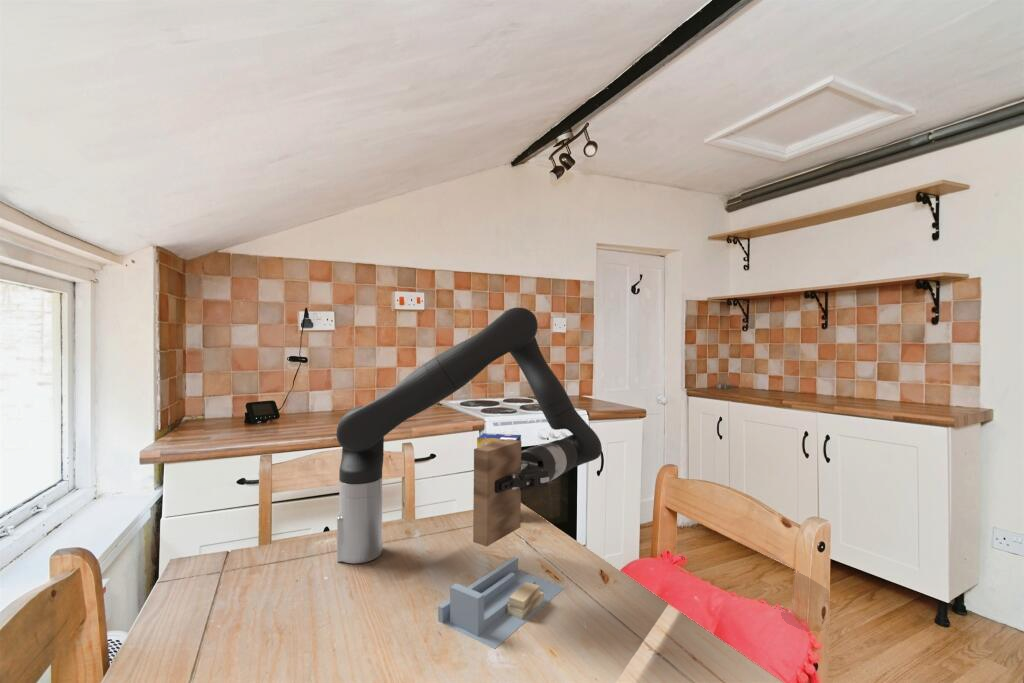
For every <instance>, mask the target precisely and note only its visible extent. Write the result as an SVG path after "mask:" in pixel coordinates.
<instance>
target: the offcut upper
mask: <svg viewBox="0 0 1024 683" xmlns="http://www.w3.org/2000/svg"><path fill="white" fill-rule="evenodd" d="M539 595H540V586H539V585H535V584H532V583H529V582H525V583H524V584H523V585H522V586H521V587H520V588H519V589H518V590H517V591H516V592H514V593H513V594H512V595H511V596H510V597H509V606H511V607H513V608H516V609H519V610H522V611H524V610H525V609H526V608H527V607H528V606H529V605H530V604H531V603H532V602H533V601H534V600H535V599H536V598H537V597H538V596H539Z"/></svg>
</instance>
